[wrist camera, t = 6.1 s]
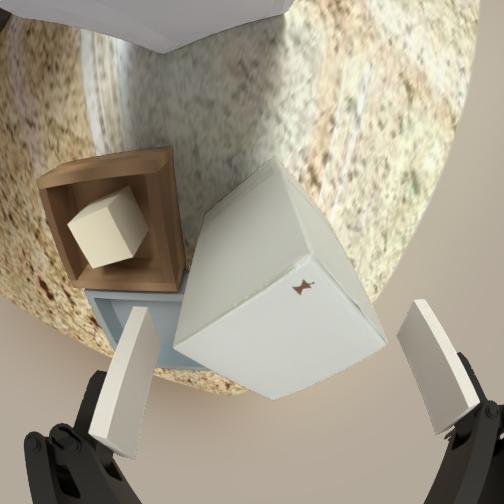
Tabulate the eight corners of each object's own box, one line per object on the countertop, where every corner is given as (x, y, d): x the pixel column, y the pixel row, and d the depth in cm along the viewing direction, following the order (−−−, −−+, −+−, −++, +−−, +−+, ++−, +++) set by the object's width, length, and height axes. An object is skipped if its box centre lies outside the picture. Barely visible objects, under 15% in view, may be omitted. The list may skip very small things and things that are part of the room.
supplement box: (201, 214, 21) (163, 347, 10) (275, 153, 19) (318, 248, 8) (261, 271, 24) (271, 404, 14) (331, 222, 22) (393, 347, 11)
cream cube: (111, 241, 21) (92, 268, 18) (91, 201, 19) (67, 224, 16) (149, 229, 21) (133, 256, 18) (129, 185, 19) (107, 206, 15)
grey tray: (128, 344, 30) (122, 363, 28) (96, 271, 24) (83, 290, 21) (218, 350, 30) (217, 371, 28) (207, 272, 24) (203, 294, 22)
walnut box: (90, 261, 23) (73, 287, 20) (64, 163, 18) (36, 179, 14) (186, 261, 23) (177, 291, 20) (172, 146, 18) (155, 159, 15)
